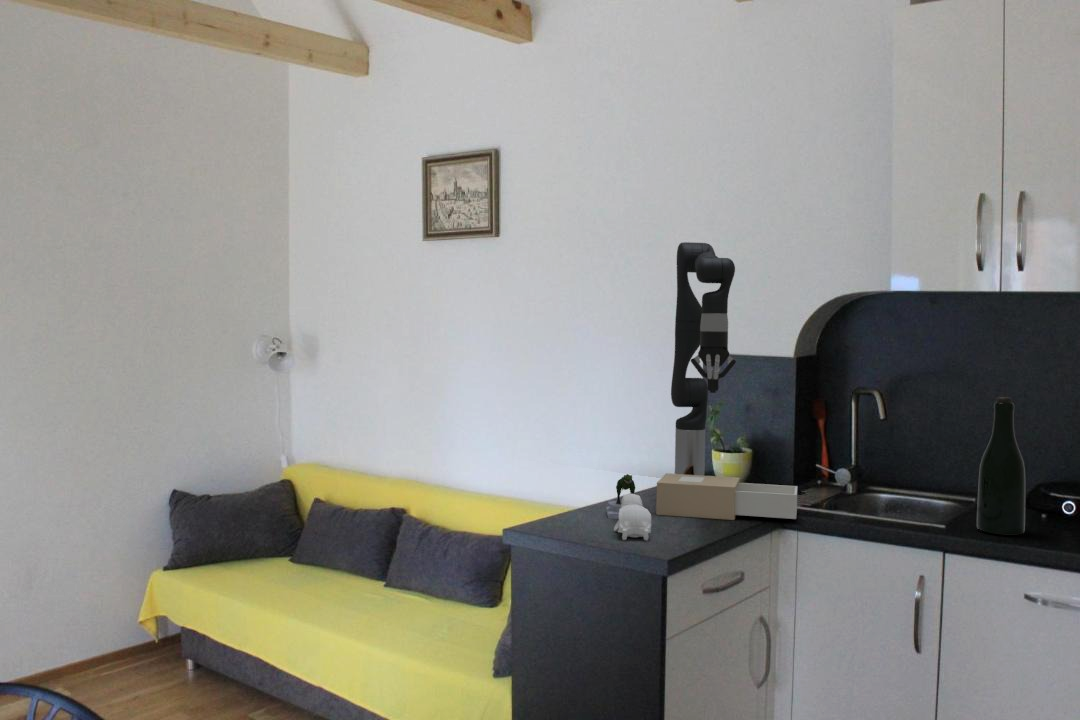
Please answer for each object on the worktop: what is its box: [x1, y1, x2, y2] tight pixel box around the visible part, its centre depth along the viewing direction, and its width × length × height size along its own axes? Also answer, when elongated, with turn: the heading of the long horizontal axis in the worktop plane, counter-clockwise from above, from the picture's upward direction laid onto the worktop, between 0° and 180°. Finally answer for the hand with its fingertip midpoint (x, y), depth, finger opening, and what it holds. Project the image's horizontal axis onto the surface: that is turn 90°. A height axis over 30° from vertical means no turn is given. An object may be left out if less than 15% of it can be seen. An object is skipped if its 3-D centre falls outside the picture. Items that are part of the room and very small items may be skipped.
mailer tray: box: [735, 482, 798, 520], centre depth 239 cm, size 14×19×6 cm
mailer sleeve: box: [655, 472, 741, 521], centre depth 244 cm, size 16×20×8 cm
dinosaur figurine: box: [605, 474, 644, 520], centre depth 239 cm, size 9×20×12 cm, turn 179°
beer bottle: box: [976, 396, 1026, 535], centre depth 223 cm, size 10×10×33 cm
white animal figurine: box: [613, 493, 652, 541], centre depth 216 cm, size 9×8×15 cm
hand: (712, 392), depth 254 cm, fingers closed
